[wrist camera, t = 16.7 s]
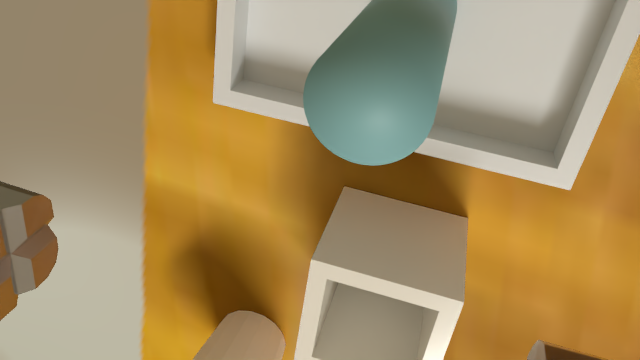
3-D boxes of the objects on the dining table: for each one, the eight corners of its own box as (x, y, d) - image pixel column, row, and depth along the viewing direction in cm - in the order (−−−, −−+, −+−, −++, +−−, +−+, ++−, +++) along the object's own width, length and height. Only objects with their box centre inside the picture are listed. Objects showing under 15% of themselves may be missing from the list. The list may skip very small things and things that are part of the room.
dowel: (466, -24, 27) (452, 54, 15) (445, 55, 29) (418, 179, 17) (387, -40, 28) (312, 24, 16) (371, 38, 30) (295, 148, 18)
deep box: (468, 218, 34) (464, 302, 28) (436, 311, 38) (425, 404, 32) (344, 186, 35) (311, 259, 29) (326, 279, 40) (293, 363, 33)
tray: (680, -113, 24) (704, -111, 21) (563, 164, 31) (570, 190, 29) (250, -182, 27) (225, -188, 24) (233, 85, 34) (213, 102, 32)
